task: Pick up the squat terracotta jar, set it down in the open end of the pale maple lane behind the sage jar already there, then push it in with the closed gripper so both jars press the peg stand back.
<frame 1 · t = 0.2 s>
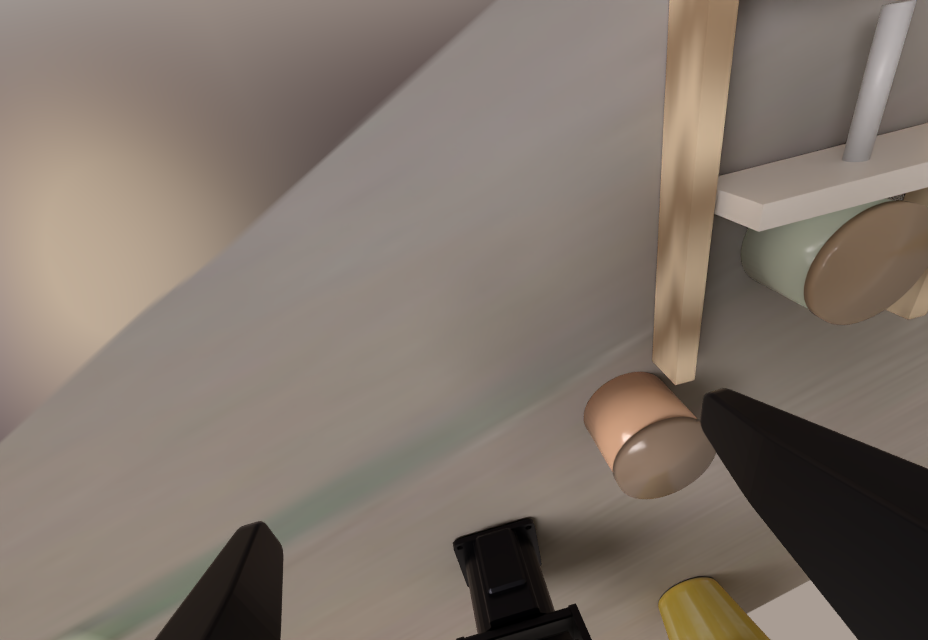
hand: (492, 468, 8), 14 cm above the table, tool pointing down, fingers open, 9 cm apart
stock jar: (789, 235, 25), on the table
plant pot: (685, 592, 45), on the table
peg stand: (871, 102, 19), point 2 cm above the table, slide at 0.0 cm
jar: (624, 406, 29), on the table
lane: (804, 174, 23), on the table
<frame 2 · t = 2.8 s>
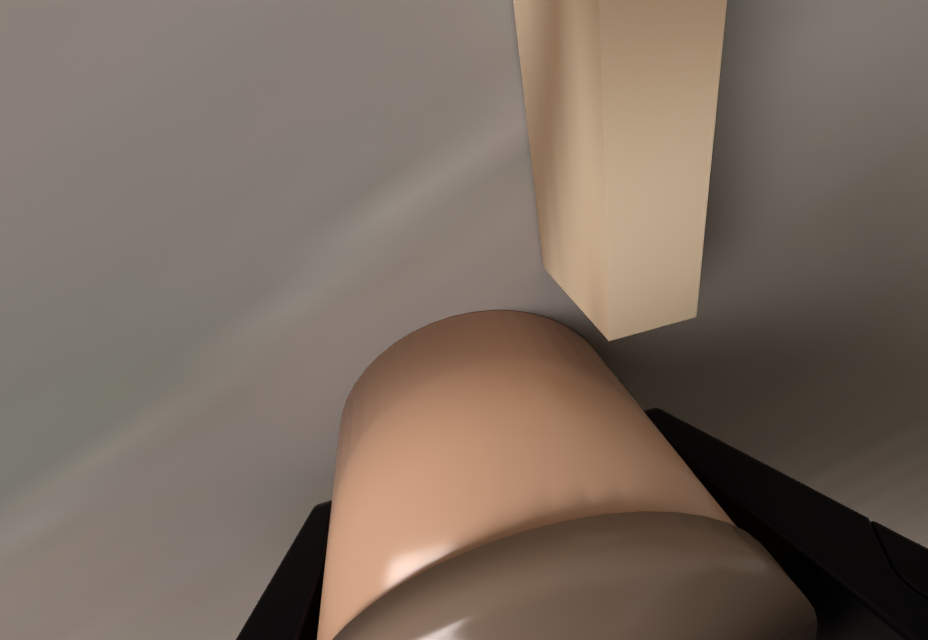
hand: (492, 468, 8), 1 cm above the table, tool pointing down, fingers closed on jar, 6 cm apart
jar: (481, 431, 9), on the table, touching gripper
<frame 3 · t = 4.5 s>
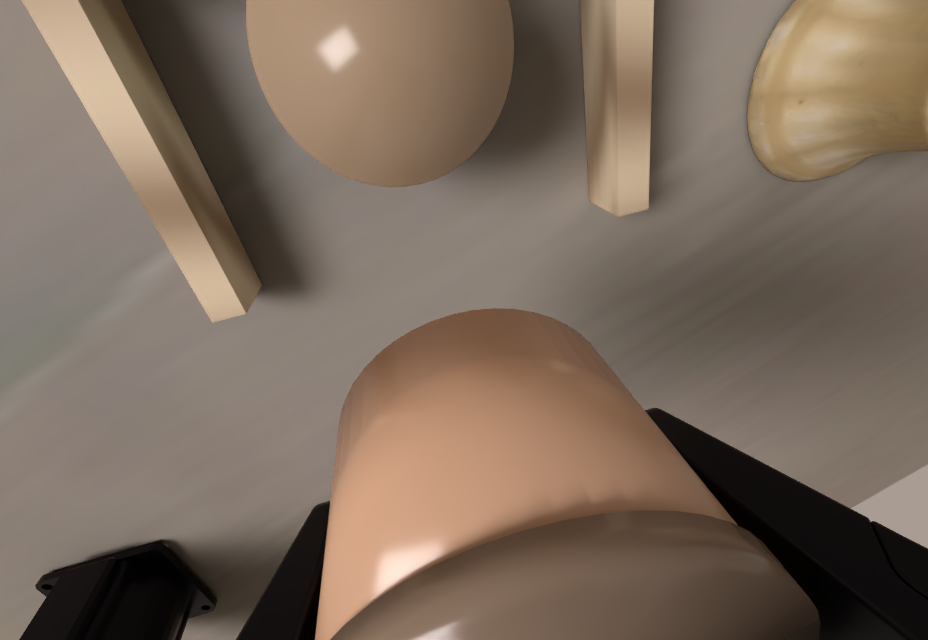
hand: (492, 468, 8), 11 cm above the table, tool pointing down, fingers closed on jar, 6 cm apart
stock jar: (384, 62, 14), on the table
jar: (480, 430, 9), point 10 cm above the table, touching gripper
hand bell: (834, 76, 18), on the table
when the fingers open (2 cm above the table, at t = 6.7 s): jar drops 1 cm, on the table.
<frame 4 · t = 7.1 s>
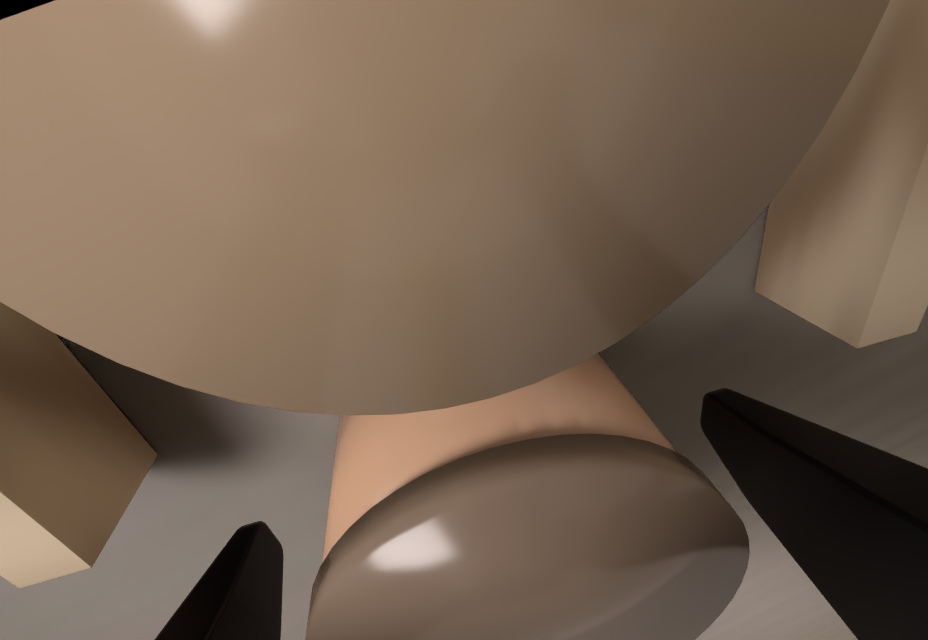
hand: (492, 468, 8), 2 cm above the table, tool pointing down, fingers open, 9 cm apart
stock jar: (380, 30, 6), on the table
jar: (471, 399, 10), on the table
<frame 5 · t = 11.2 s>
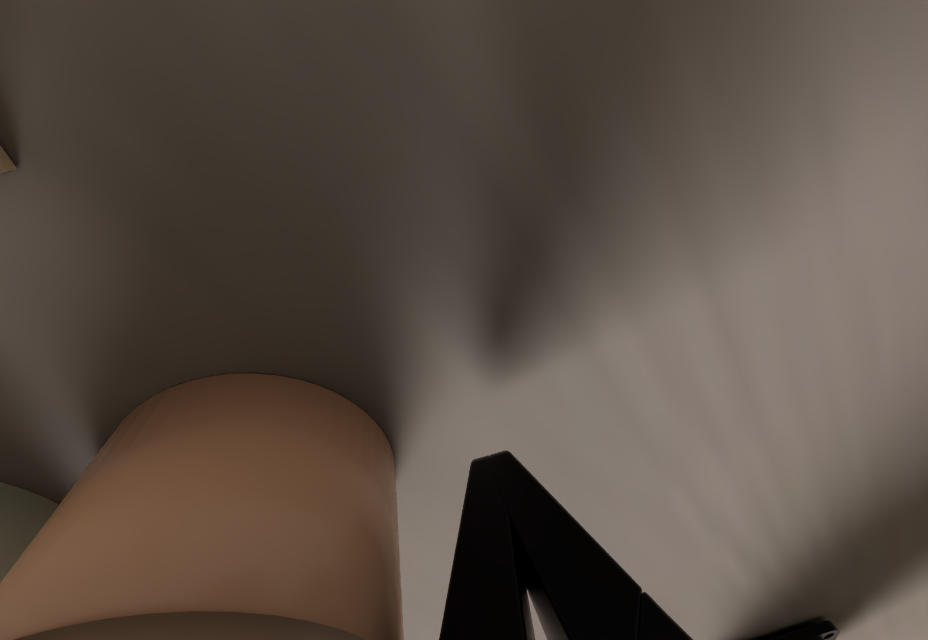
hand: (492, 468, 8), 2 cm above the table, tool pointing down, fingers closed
jar: (261, 481, 10), on the table, touching gripper
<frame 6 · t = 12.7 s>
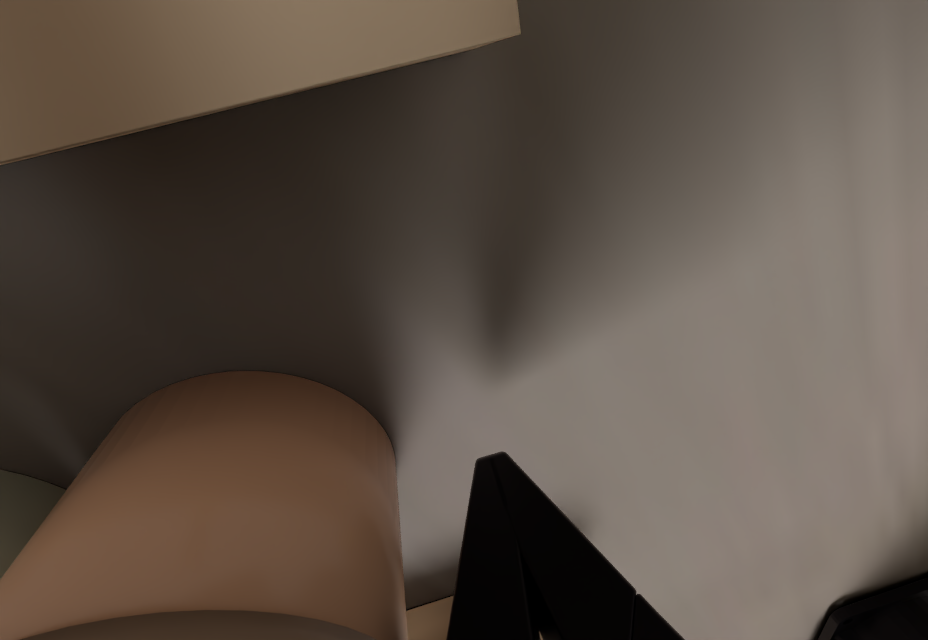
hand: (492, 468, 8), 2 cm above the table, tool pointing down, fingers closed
jar: (260, 480, 10), on the table, touching gripper, stock jar
lane: (94, 529, 9), on the table
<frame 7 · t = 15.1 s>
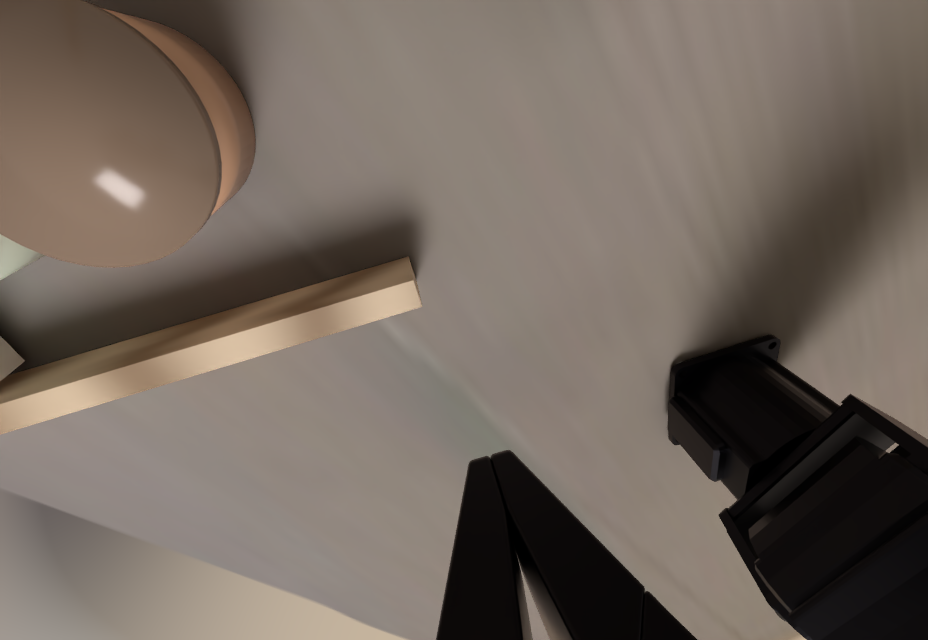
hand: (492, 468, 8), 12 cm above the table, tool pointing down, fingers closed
jar: (158, 125, 14), on the table, touching stock jar
lane: (58, 153, 14), on the table
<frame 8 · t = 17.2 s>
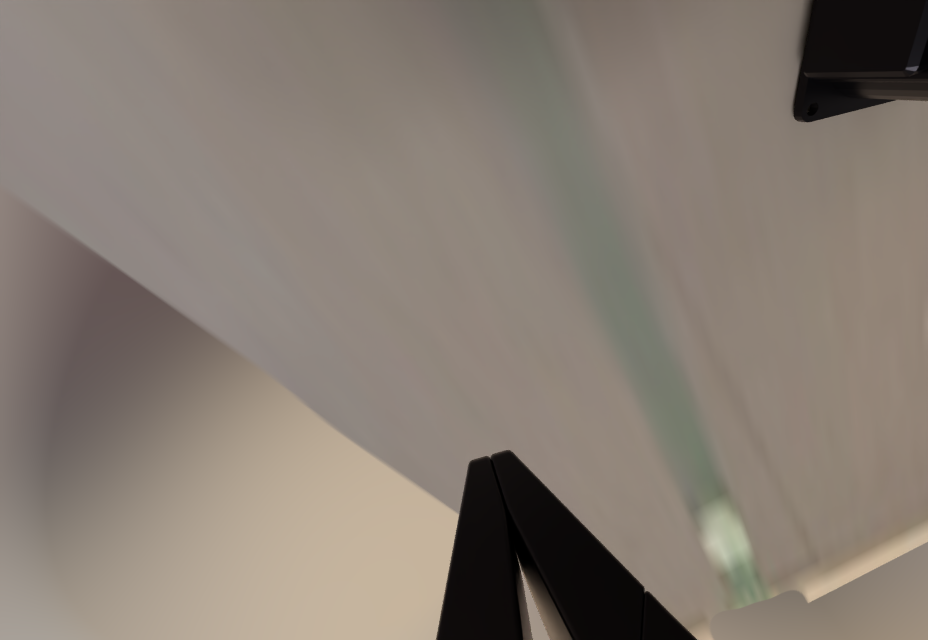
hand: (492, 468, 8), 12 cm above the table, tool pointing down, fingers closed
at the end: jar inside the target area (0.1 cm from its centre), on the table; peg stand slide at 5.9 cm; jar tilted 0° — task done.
